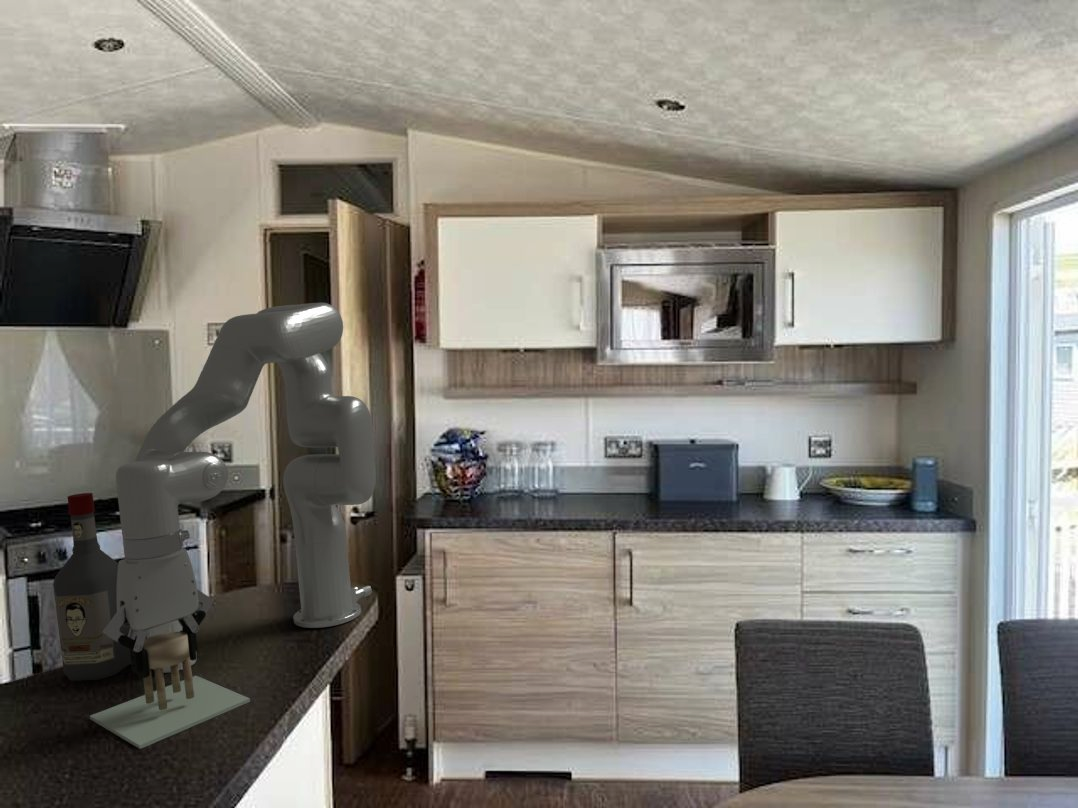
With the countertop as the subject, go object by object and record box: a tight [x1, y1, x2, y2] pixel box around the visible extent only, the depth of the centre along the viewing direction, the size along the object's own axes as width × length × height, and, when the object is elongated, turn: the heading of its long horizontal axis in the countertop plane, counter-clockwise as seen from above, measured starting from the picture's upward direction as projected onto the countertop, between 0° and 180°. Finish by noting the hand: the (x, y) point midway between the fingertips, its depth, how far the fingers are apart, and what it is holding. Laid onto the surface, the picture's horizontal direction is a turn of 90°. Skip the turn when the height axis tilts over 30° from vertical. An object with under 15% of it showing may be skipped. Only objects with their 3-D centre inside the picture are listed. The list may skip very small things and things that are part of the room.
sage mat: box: [89, 675, 251, 750], centre depth 116 cm, size 16×16×1 cm
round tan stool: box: [142, 632, 194, 710], centre depth 116 cm, size 6×6×9 cm
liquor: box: [52, 492, 131, 682], centre depth 133 cm, size 9×9×30 cm
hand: (166, 665), depth 116 cm, fingers closed on round tan stool, 6 cm apart
